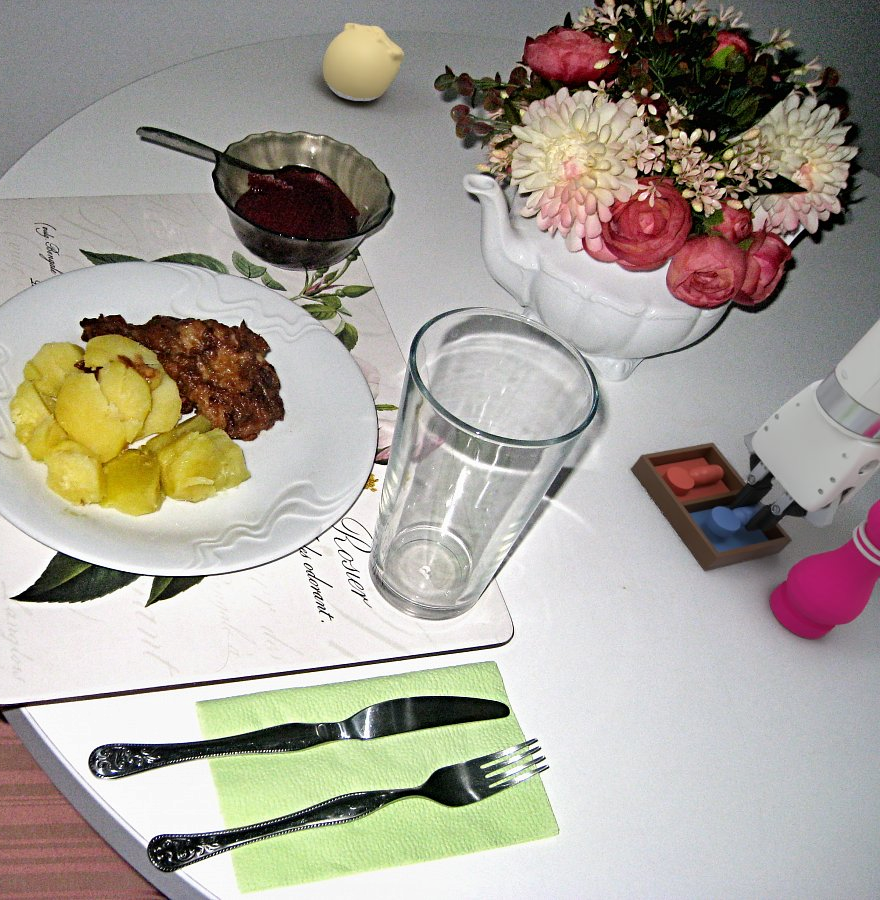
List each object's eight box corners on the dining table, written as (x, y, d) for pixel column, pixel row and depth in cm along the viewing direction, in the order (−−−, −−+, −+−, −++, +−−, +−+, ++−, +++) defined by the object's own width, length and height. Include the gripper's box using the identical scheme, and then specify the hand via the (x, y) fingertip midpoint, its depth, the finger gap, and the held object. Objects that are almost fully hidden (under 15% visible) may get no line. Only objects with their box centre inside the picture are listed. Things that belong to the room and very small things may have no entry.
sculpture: (399, 99, 151) (419, 36, 143) (357, 118, 144) (375, 53, 136) (348, 68, 155) (364, 5, 147) (304, 85, 148) (318, 20, 140)
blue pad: (738, 503, 102) (739, 502, 102) (772, 546, 98) (773, 545, 98) (676, 516, 99) (677, 515, 98) (709, 561, 95) (709, 560, 95)
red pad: (701, 461, 106) (712, 447, 104) (736, 505, 102) (749, 492, 100) (638, 472, 103) (648, 458, 101) (671, 519, 99) (683, 505, 97)
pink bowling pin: (846, 637, 92) (997, 525, 78) (793, 649, 90) (939, 535, 75) (802, 578, 97) (938, 461, 82) (751, 588, 94) (881, 469, 80)
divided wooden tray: (701, 455, 107) (713, 442, 105) (778, 553, 99) (792, 540, 97) (630, 468, 103) (641, 454, 101) (704, 571, 95) (717, 558, 93)
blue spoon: (752, 505, 100) (762, 494, 98) (770, 528, 98) (781, 517, 96) (699, 516, 97) (709, 505, 95) (717, 540, 95) (727, 529, 94)
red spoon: (707, 466, 105) (716, 455, 103) (724, 488, 103) (733, 477, 101) (655, 476, 102) (664, 465, 100) (671, 498, 100) (681, 487, 98)
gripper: (951, 461, 81) (821, 572, 94) (831, 341, 90) (728, 458, 103) (894, 473, 78) (769, 585, 92) (777, 348, 87) (678, 467, 101)
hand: (748, 517), depth 98 cm, fingers closed on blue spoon, 2 cm apart
